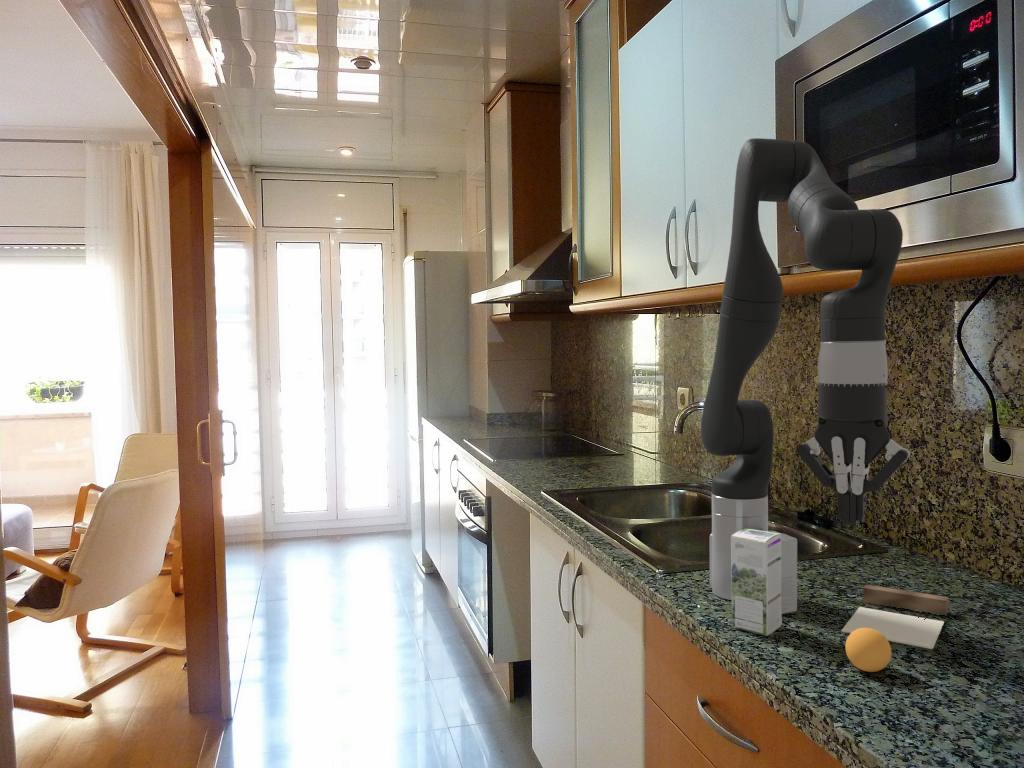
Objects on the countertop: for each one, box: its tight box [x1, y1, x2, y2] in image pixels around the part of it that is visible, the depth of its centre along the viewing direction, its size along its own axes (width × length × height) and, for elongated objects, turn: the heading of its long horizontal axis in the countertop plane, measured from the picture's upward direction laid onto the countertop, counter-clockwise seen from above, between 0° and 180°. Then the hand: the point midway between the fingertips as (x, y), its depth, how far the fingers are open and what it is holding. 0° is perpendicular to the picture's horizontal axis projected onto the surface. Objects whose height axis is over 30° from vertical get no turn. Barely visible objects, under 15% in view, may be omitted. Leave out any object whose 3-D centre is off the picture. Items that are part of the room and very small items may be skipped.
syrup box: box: [731, 529, 783, 637], centre depth 117 cm, size 6×6×14 cm
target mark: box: [841, 606, 945, 650], centre depth 116 cm, size 12×12×1 cm
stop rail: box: [862, 584, 949, 617], centre depth 124 cm, size 12×2×2 cm, turn 54°
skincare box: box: [766, 530, 798, 615], centre depth 125 cm, size 6×4×12 cm
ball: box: [845, 628, 892, 673], centre depth 101 cm, size 6×6×6 cm
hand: (851, 523), depth 93 cm, fingers closed
